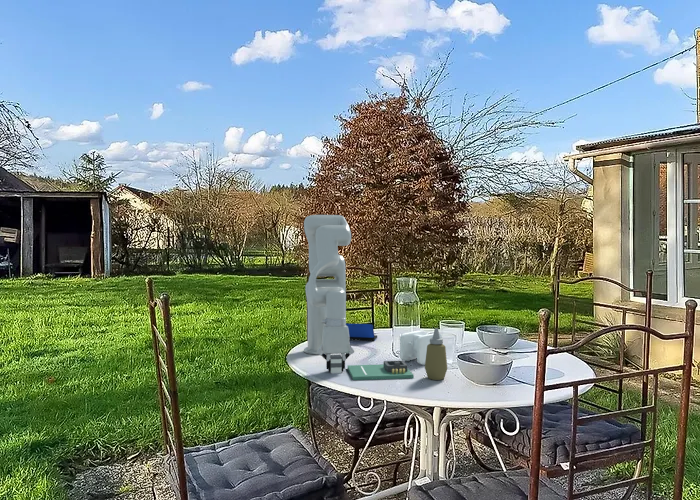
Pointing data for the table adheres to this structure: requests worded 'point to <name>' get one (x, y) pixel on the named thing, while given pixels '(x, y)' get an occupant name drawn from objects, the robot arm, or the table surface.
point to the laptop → (361, 332)
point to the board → (380, 371)
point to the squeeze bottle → (436, 358)
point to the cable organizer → (415, 346)
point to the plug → (336, 363)
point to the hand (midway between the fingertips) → (335, 370)
